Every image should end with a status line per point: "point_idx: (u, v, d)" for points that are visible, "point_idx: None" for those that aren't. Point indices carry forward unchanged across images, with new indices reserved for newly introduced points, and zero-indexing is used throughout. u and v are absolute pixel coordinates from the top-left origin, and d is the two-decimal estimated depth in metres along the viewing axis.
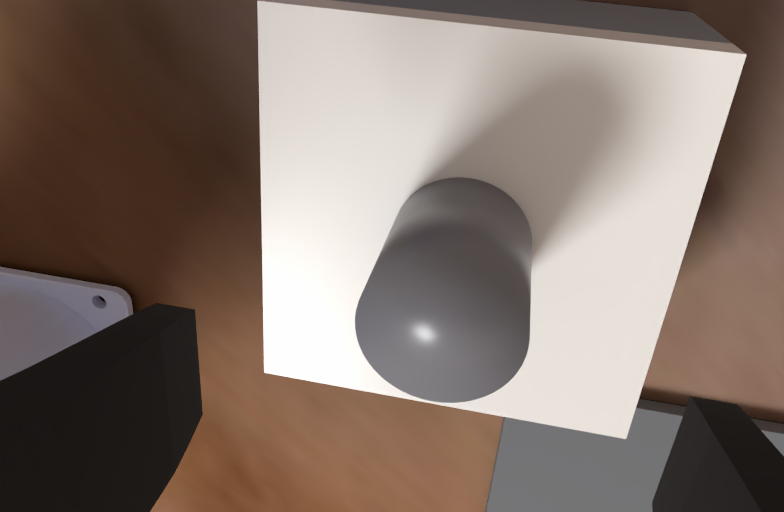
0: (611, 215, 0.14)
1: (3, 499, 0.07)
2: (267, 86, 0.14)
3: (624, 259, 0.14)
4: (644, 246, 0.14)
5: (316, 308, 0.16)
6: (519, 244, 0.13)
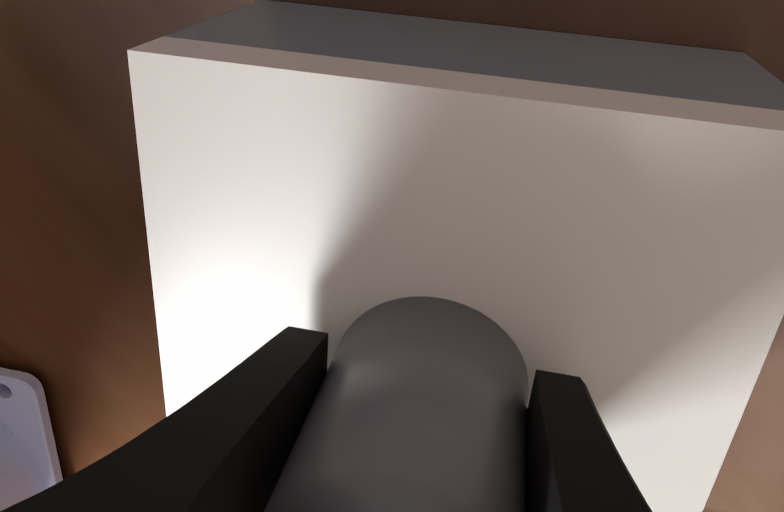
0: (641, 354, 0.10)
1: None
2: (152, 169, 0.10)
3: (658, 411, 0.10)
4: (687, 395, 0.10)
5: None
6: (508, 414, 0.09)
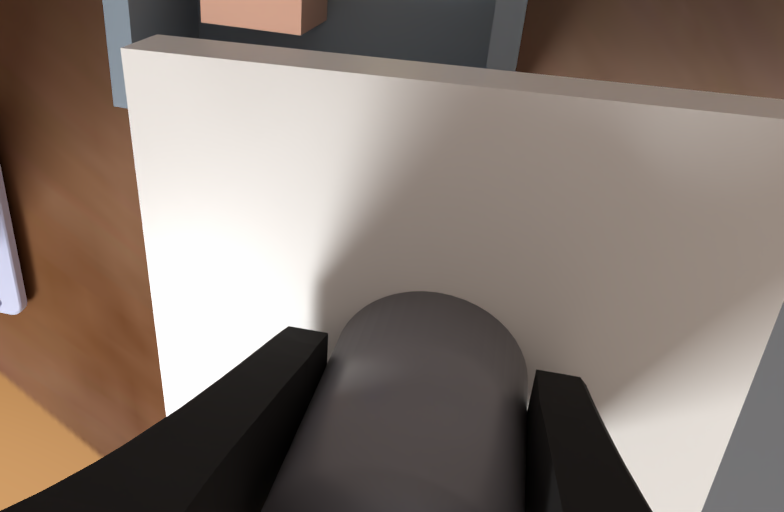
0: (640, 345, 0.10)
1: None
2: (146, 167, 0.10)
3: (658, 403, 0.10)
4: (687, 387, 0.10)
5: None
6: (507, 408, 0.09)
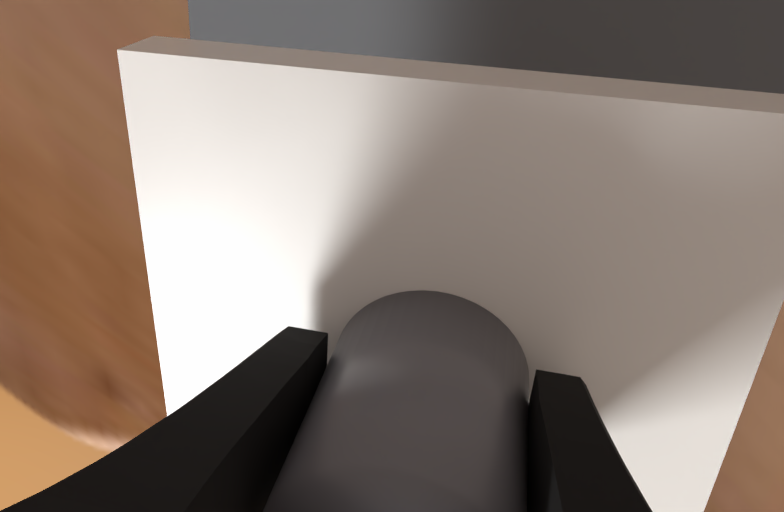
0: (641, 342, 0.10)
1: None
2: (146, 169, 0.10)
3: (660, 400, 0.10)
4: (689, 384, 0.10)
5: None
6: (508, 406, 0.09)
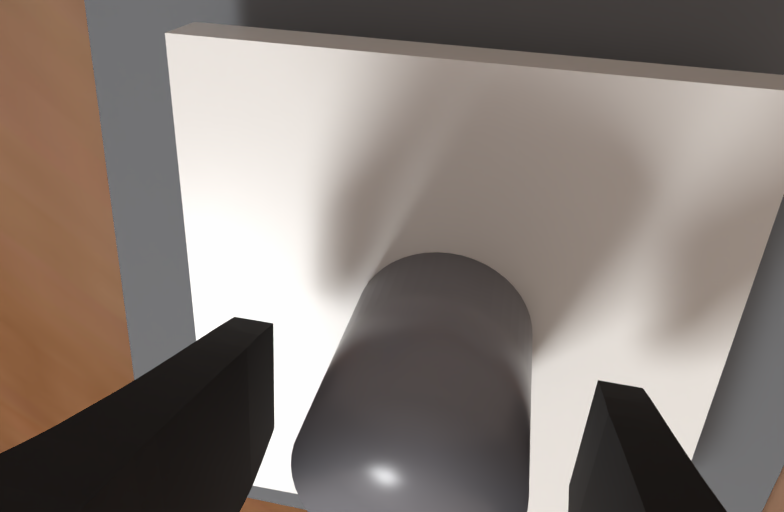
0: (634, 299, 0.11)
1: None
2: (186, 141, 0.11)
3: (652, 353, 0.11)
4: (678, 337, 0.11)
5: None
6: (514, 350, 0.10)
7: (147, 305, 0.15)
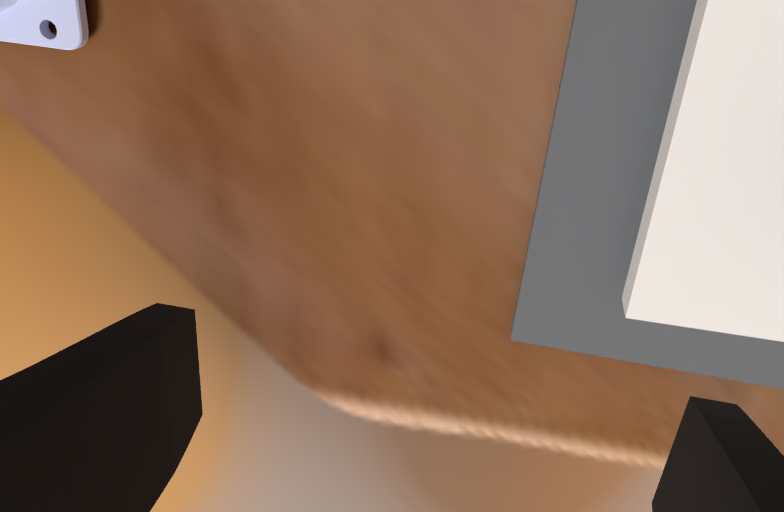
0: None
1: (3, 499, 0.07)
2: (712, 21, 0.14)
3: None
4: None
5: (702, 249, 0.17)
6: None
7: (563, 181, 0.18)
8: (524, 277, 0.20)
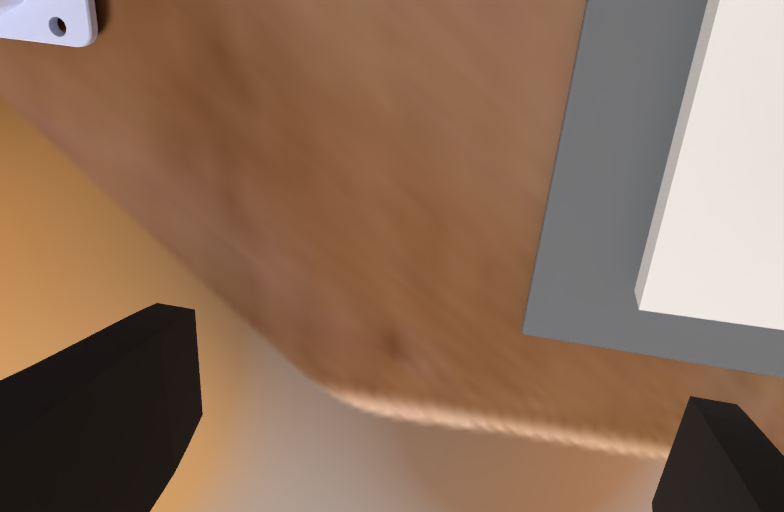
0: None
1: (3, 499, 0.07)
2: (726, 11, 0.14)
3: None
4: None
5: (716, 240, 0.17)
6: None
7: (575, 174, 0.18)
8: (536, 270, 0.20)
